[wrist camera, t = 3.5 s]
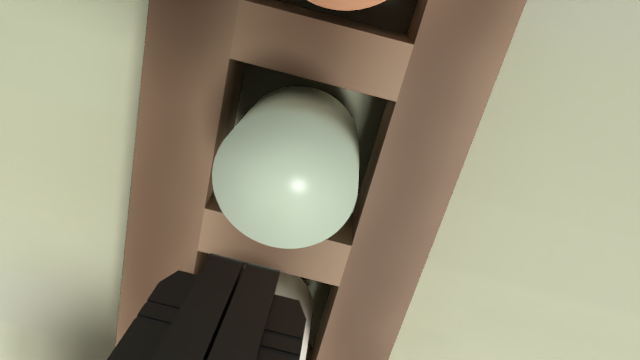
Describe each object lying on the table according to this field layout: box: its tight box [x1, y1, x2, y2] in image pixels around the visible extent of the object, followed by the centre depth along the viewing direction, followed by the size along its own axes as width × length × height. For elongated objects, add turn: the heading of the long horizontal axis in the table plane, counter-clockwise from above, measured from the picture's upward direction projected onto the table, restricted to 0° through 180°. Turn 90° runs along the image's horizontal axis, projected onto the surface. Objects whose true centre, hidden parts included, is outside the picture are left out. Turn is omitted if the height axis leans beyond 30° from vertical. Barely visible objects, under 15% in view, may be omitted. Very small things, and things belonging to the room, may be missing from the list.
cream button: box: [244, 263, 313, 360], centre depth 21 cm, size 5×5×4 cm
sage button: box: [212, 86, 360, 249], centre depth 18 cm, size 5×5×4 cm
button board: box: [115, 0, 527, 360], centre depth 20 cm, size 12×26×3 cm, turn 166°
